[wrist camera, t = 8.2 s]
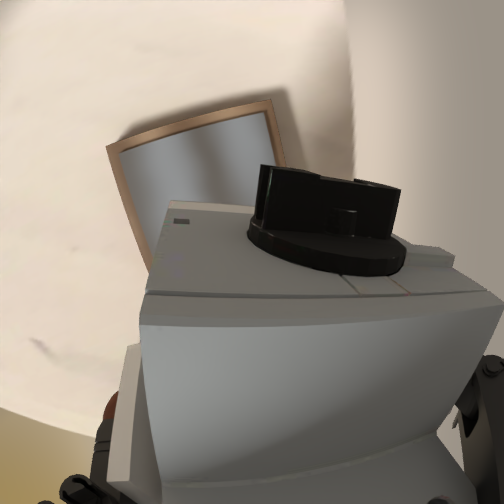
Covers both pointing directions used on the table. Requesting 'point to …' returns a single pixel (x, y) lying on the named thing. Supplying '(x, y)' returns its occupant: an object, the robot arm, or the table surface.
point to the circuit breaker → (306, 349)
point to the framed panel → (193, 165)
